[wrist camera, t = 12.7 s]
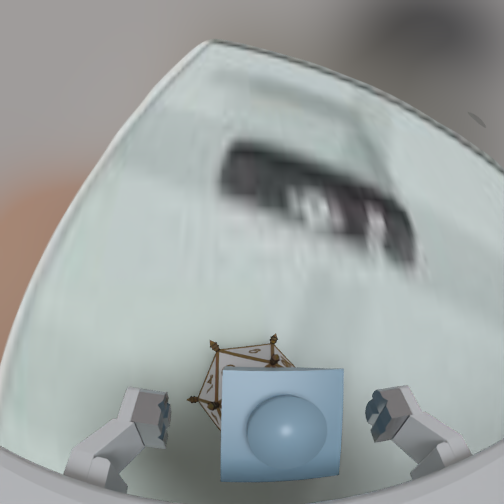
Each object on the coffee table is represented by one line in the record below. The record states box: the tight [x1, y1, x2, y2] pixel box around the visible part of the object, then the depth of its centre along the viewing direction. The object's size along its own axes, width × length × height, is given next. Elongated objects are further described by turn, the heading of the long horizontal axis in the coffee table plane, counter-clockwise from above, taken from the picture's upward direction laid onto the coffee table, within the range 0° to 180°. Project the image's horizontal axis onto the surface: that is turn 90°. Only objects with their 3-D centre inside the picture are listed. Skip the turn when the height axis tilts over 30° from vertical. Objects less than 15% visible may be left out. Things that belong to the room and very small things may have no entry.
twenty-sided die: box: [187, 334, 295, 431], centre depth 19 cm, size 9×8×10 cm
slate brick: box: [221, 366, 344, 482], centre depth 12 cm, size 4×4×9 cm
